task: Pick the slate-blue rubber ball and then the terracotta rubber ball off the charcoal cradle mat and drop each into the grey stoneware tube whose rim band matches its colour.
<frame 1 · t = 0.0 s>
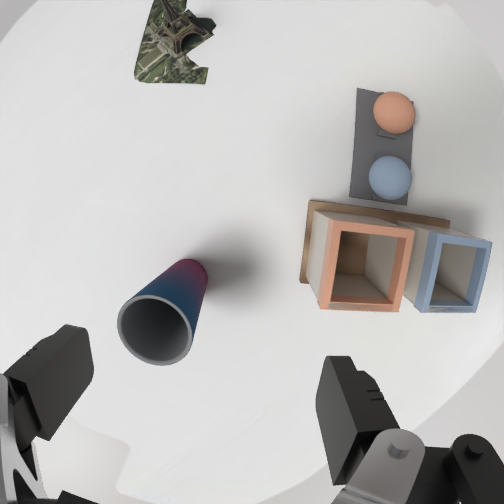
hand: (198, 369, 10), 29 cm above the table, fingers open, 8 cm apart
eiffel tower figurine: (180, 34, 33), on the table
ball terracotta: (386, 116, 34), resting on cradle mat
cup: (188, 277, 40), on the table
tube board: (379, 248, 38), on the table
tube slate: (418, 254, 37), resting on tube board
ball slate: (381, 177, 36), resting on cradle mat
cradle mat: (383, 146, 35), on the table
tube terracotta: (341, 246, 37), resting on tube board
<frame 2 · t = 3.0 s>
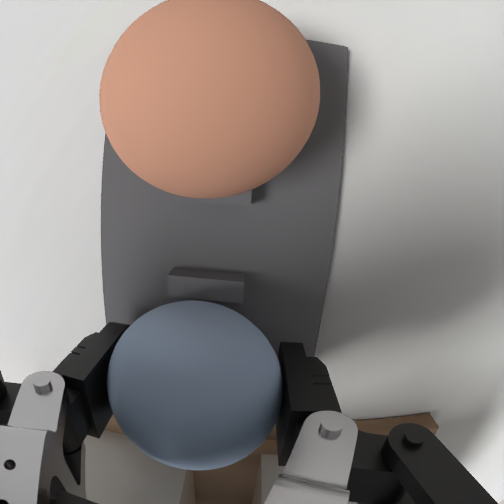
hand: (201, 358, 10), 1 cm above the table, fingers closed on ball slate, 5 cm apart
ball terracotta: (220, 113, 9), resting on cradle mat
tube board: (225, 478, 14), on the table
tube slate: (328, 495, 12), resting on tube board
ball slate: (206, 344, 11), resting on cradle mat, touching gripper
cradle mat: (212, 234, 11), on the table
tube terracotta: (121, 476, 12), resting on tube board
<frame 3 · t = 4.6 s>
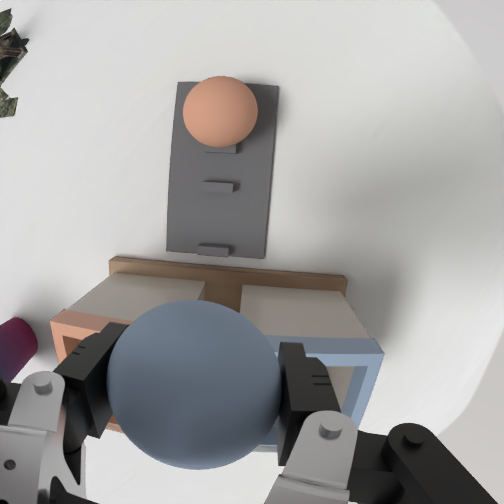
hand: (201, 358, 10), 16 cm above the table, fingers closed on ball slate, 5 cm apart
eiffel tower figurine: (5, 58, 21), on the table
ball terracotta: (223, 117, 23), resting on cradle mat
cup: (23, 335, 29), on the table
tube board: (222, 320, 27), on the table
tube slate: (286, 331, 26), resting on tube board
ball slate: (205, 343, 11), point 15 cm above the table, touching gripper
cradle mat: (220, 167, 24), on the table
tube terracotta: (158, 320, 26), resting on tube board
when the fingers open (11 cm above the table, at t = 6.1 s): ball slate drops 9 cm, resting on tube board.
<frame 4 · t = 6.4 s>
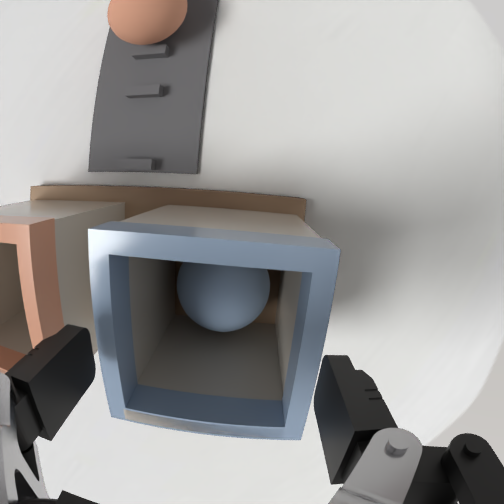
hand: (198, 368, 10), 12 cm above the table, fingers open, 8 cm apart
ball terracotta: (158, 25, 17), resting on cradle mat
tube board: (150, 259, 21), on the table
tube slate: (227, 271, 20), resting on tube board
ball slate: (227, 271, 20), point 1 cm above the table, touching tube board
cradle mat: (150, 74, 18), on the table
tube terracotta: (76, 256, 20), resting on tube board
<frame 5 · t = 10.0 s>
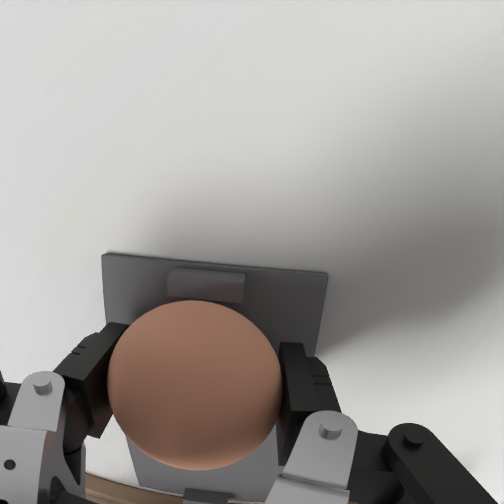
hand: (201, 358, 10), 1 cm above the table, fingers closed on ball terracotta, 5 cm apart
ball terracotta: (206, 344, 11), resting on cradle mat, touching gripper
cradle mat: (206, 416, 12), on the table
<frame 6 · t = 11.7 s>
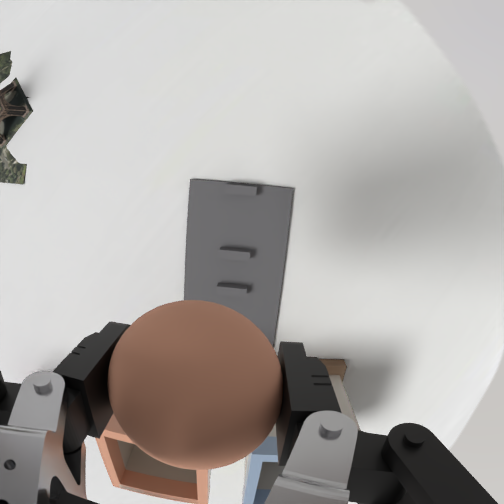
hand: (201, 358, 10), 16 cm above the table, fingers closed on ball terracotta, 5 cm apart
eiffel tower figurine: (9, 112, 23), on the table
ball terracotta: (206, 343, 11), point 15 cm above the table, touching gripper
tube board: (234, 394, 29), on the table
tube slate: (290, 405, 28), resting on tube board
cradle mat: (233, 269, 26), on the table
tube terracotta: (177, 395, 28), resting on tube board
when the fingers open (11 cm above the table, at t = 13.5 s): ball terracotta drops 9 cm, resting on tube board.
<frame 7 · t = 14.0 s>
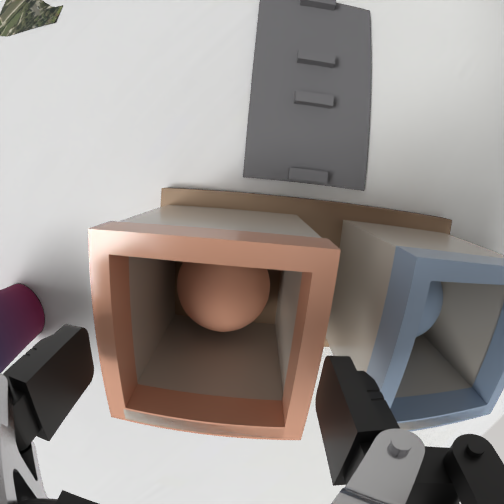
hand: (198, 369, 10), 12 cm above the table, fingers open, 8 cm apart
ball terracotta: (227, 271, 20), point 1 cm above the table, touching tube board
cup: (26, 308, 23), on the table
tube board: (309, 273, 21), on the table
tube slate: (388, 283, 20), resting on tube board
ball slate: (388, 283, 20), point 1 cm above the table, touching tube board
cradle mat: (312, 81, 18), on the table
tube terracotta: (227, 271, 20), resting on tube board
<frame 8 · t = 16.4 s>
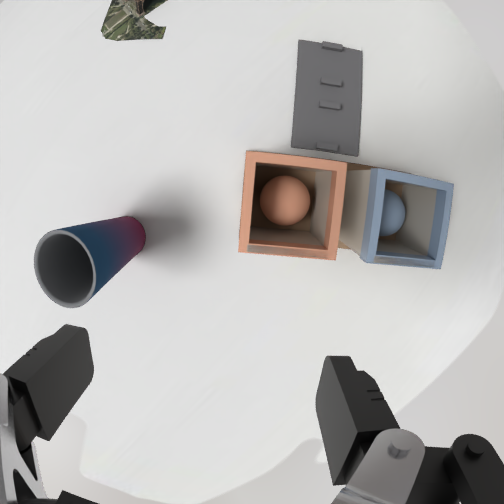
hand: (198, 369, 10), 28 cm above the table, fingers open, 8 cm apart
ball terracotta: (282, 198, 35), point 1 cm above the table, touching tube board
cup: (127, 236, 37), on the table
tube board: (328, 203, 36), on the table
tube slate: (374, 209, 35), resting on tube board
ball slate: (374, 209, 35), point 1 cm above the table, touching tube board
cradle mat: (328, 95, 33), on the table
tube terracotta: (282, 198, 35), resting on tube board
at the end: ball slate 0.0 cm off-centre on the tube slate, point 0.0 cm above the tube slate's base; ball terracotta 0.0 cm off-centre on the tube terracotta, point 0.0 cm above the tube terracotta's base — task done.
